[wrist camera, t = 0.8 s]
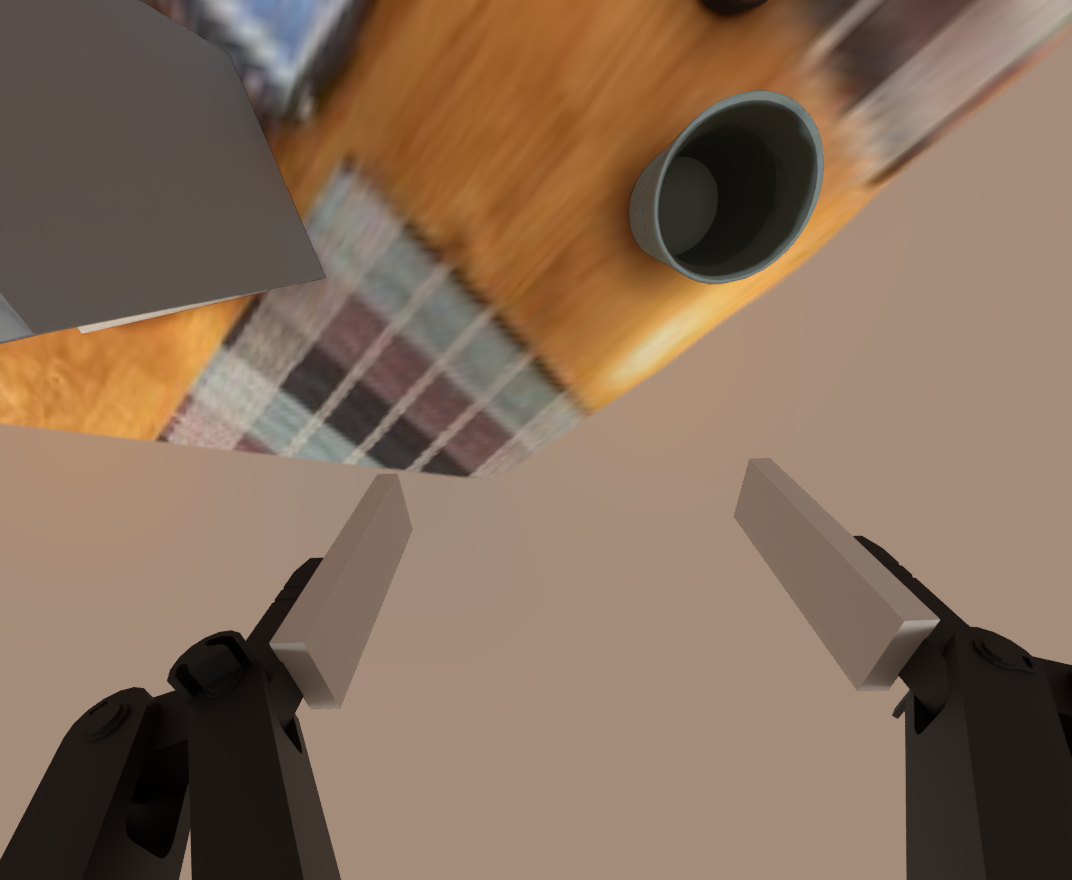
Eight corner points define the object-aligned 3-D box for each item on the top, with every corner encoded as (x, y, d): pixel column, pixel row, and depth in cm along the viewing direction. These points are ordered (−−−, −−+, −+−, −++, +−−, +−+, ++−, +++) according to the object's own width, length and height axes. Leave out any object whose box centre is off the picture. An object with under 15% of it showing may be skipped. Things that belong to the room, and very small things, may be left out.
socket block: (-17, 127, 31) (-1245, -121, 9) (229, 54, 29) (-624, -461, 8) (123, 324, 38) (-388, 433, 17) (325, 277, 36) (34, 333, 15)
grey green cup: (755, 187, 33) (861, 164, 22) (677, 292, 37) (736, 314, 26) (667, 108, 30) (740, 40, 20) (594, 230, 34) (621, 227, 24)
